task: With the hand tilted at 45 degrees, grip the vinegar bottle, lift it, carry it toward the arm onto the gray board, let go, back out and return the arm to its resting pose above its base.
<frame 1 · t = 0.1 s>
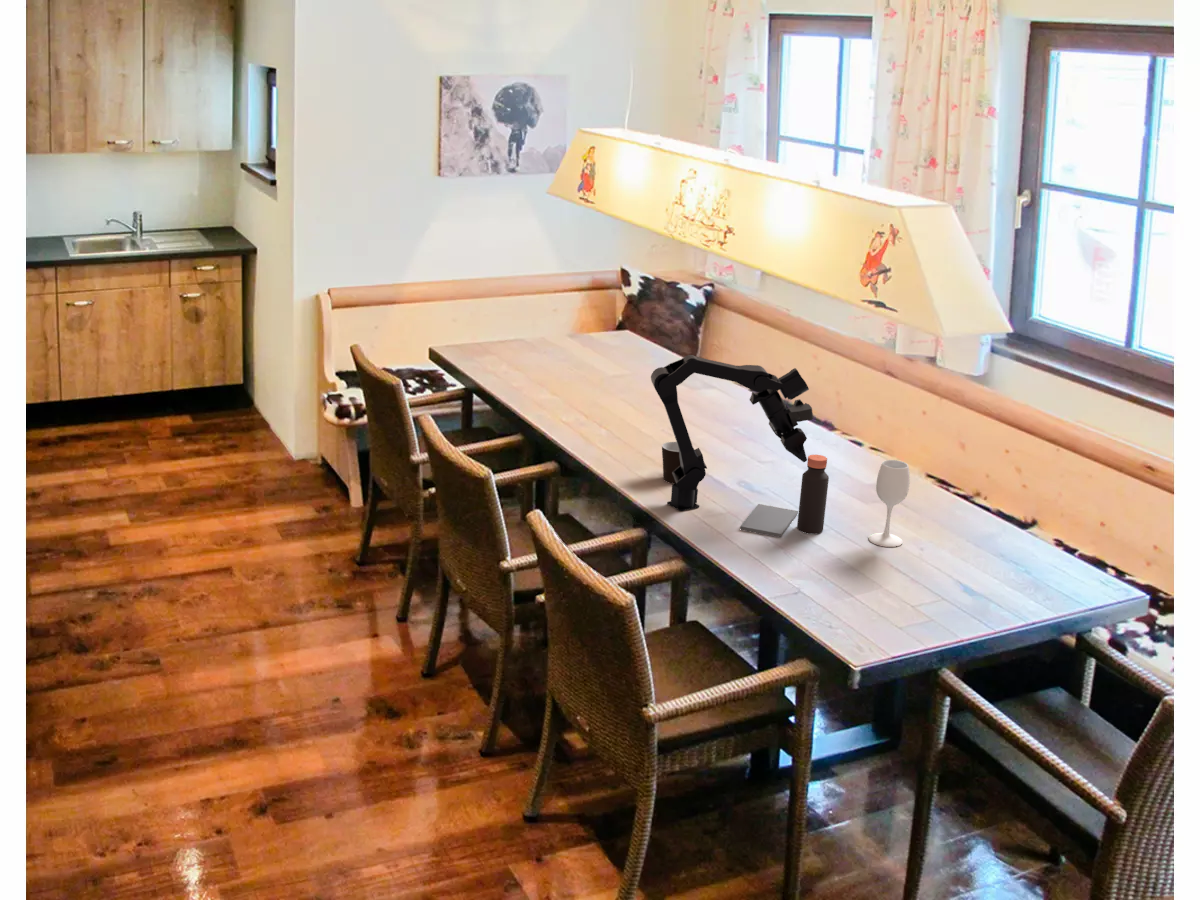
hand: (801, 455, 350), 15 cm above the table, tool tilted 35°, fingers open, 9 cm apart
wineglass: (885, 541, 335), on the table
vinegar: (809, 530, 340), on the table
coffee mug: (677, 479, 372), on the table
gray board: (769, 522, 343), on the table
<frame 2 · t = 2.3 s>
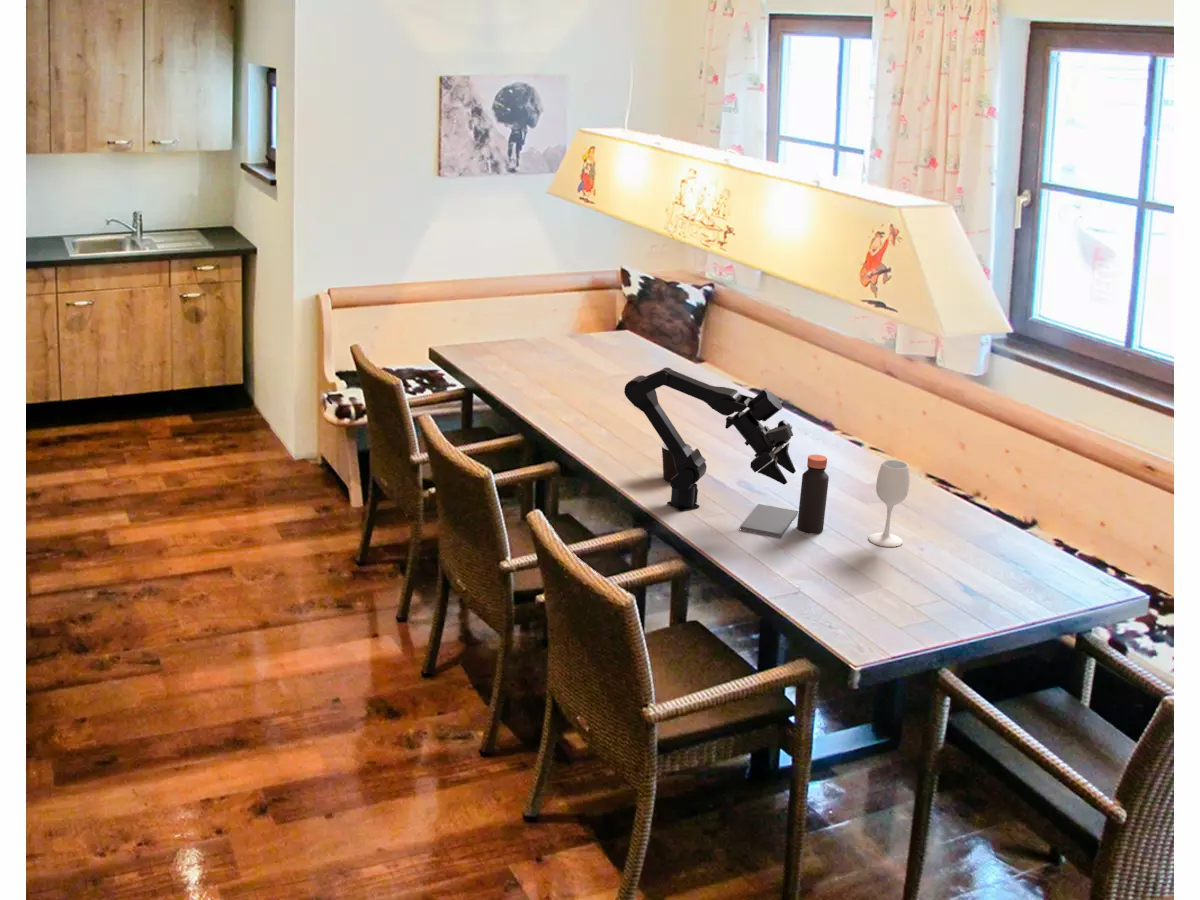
hand: (790, 477, 338), 13 cm above the table, tool tilted 45°, fingers open, 9 cm apart
nothing on the table moved.
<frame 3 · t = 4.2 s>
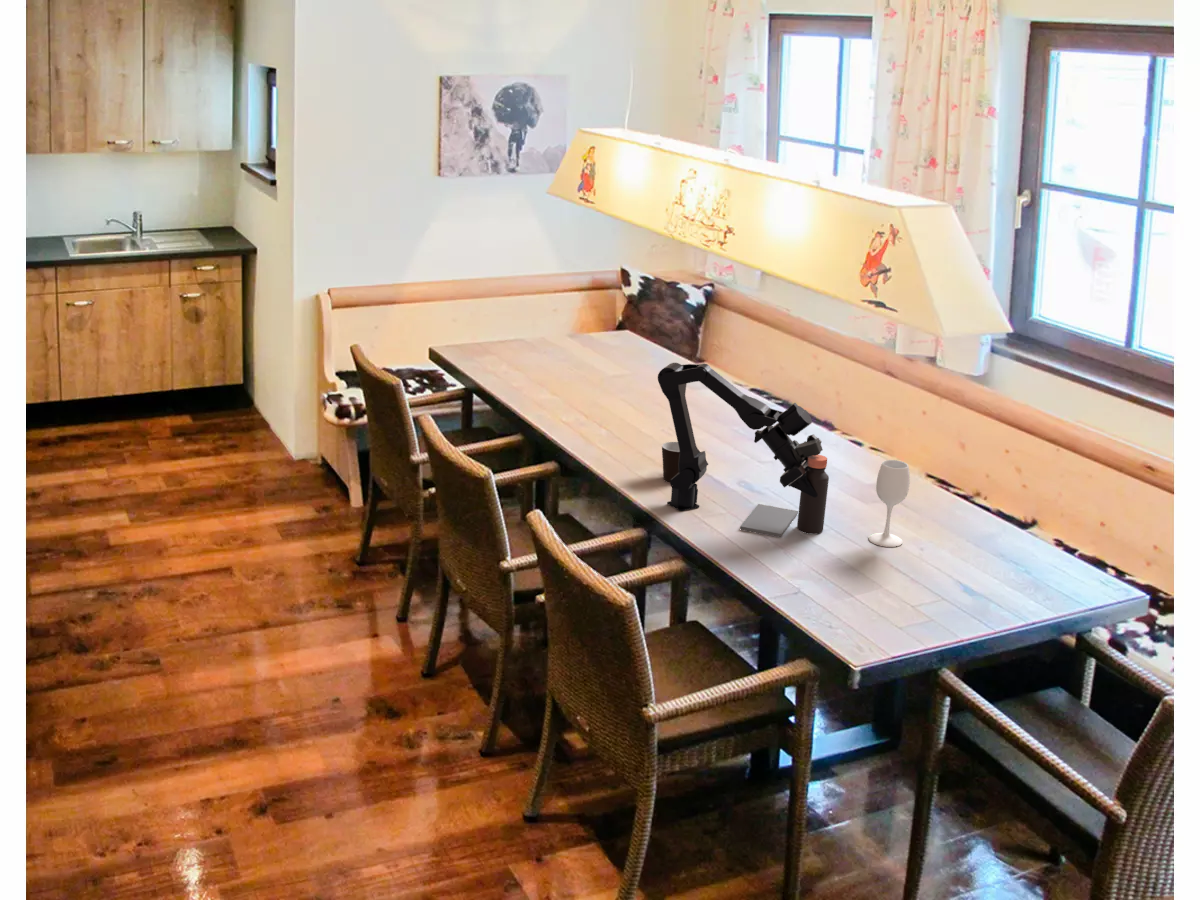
hand: (819, 492, 336), 11 cm above the table, tool tilted 45°, fingers closed on vinegar, 6 cm apart
vinegar: (809, 530, 340), on the table, touching gripper
everything else where it was.
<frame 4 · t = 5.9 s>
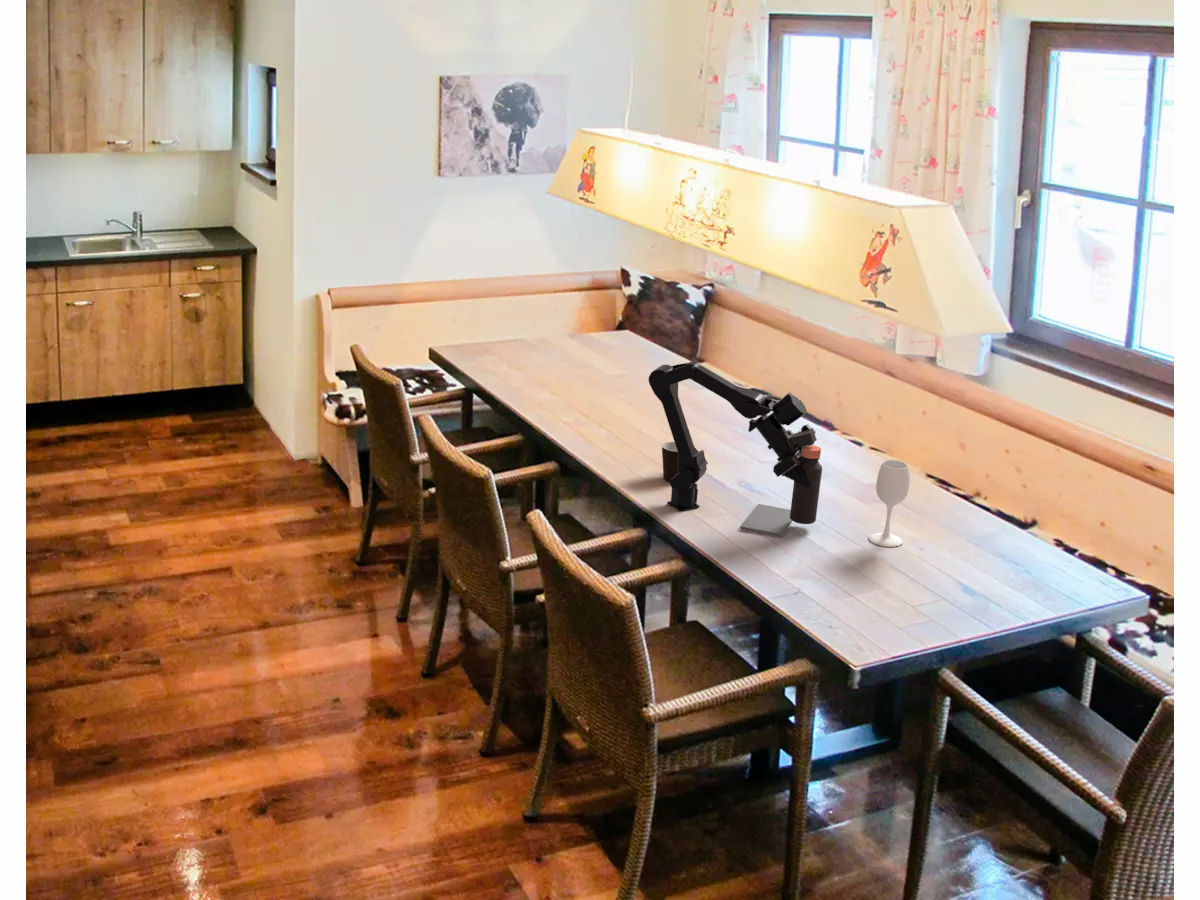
hand: (812, 482, 336), 13 cm above the table, tool tilted 45°, fingers closed on vinegar, 6 cm apart
vinegar: (802, 520, 340), point 2 cm above the table, touching gripper
everything else where it was.
when the fingers open (12 cm above the table, at t = 7.7 s): vinegar stays where it is, resting on gray board.
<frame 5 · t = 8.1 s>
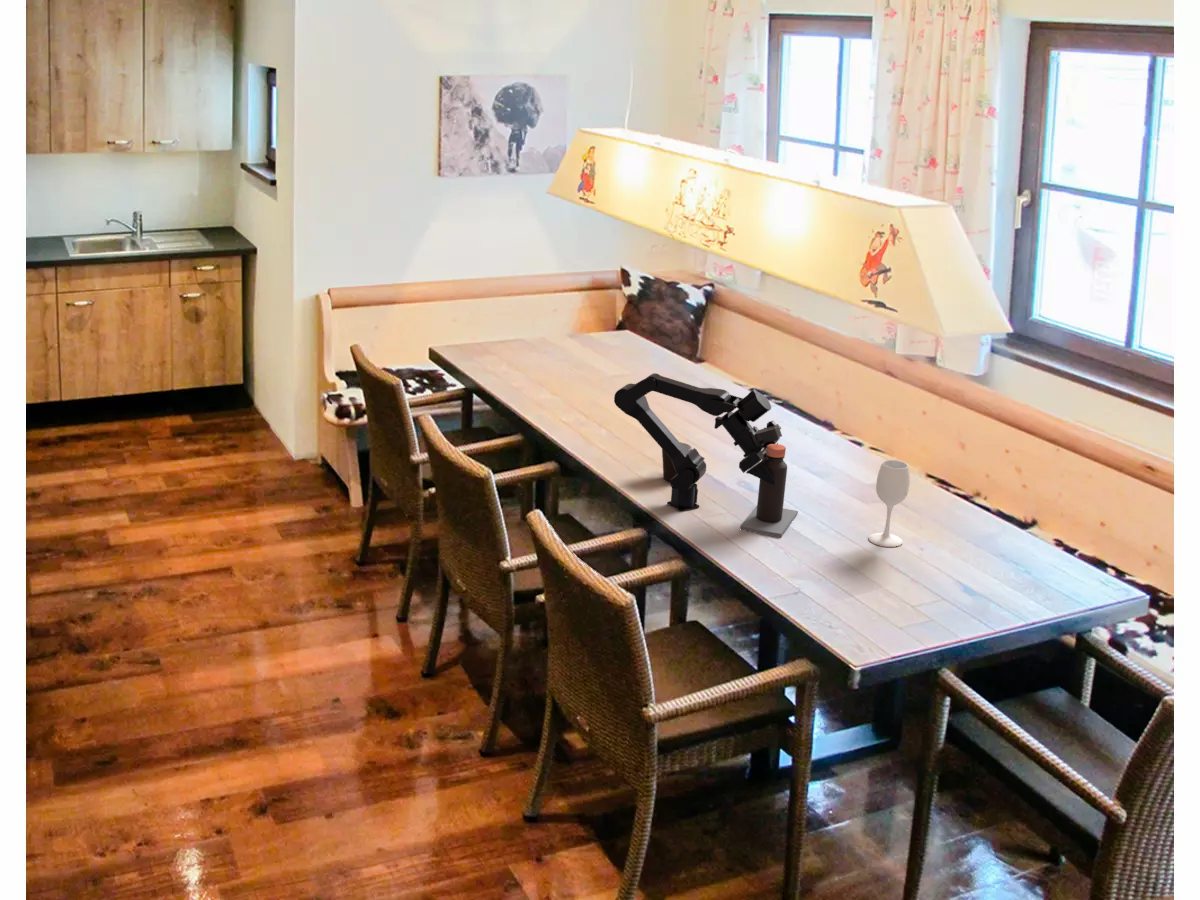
hand: (778, 478, 339), 13 cm above the table, tool tilted 45°, fingers open, 9 cm apart
vinegar: (768, 518, 343), point 1 cm above the table, touching gray board
everything else where it was.
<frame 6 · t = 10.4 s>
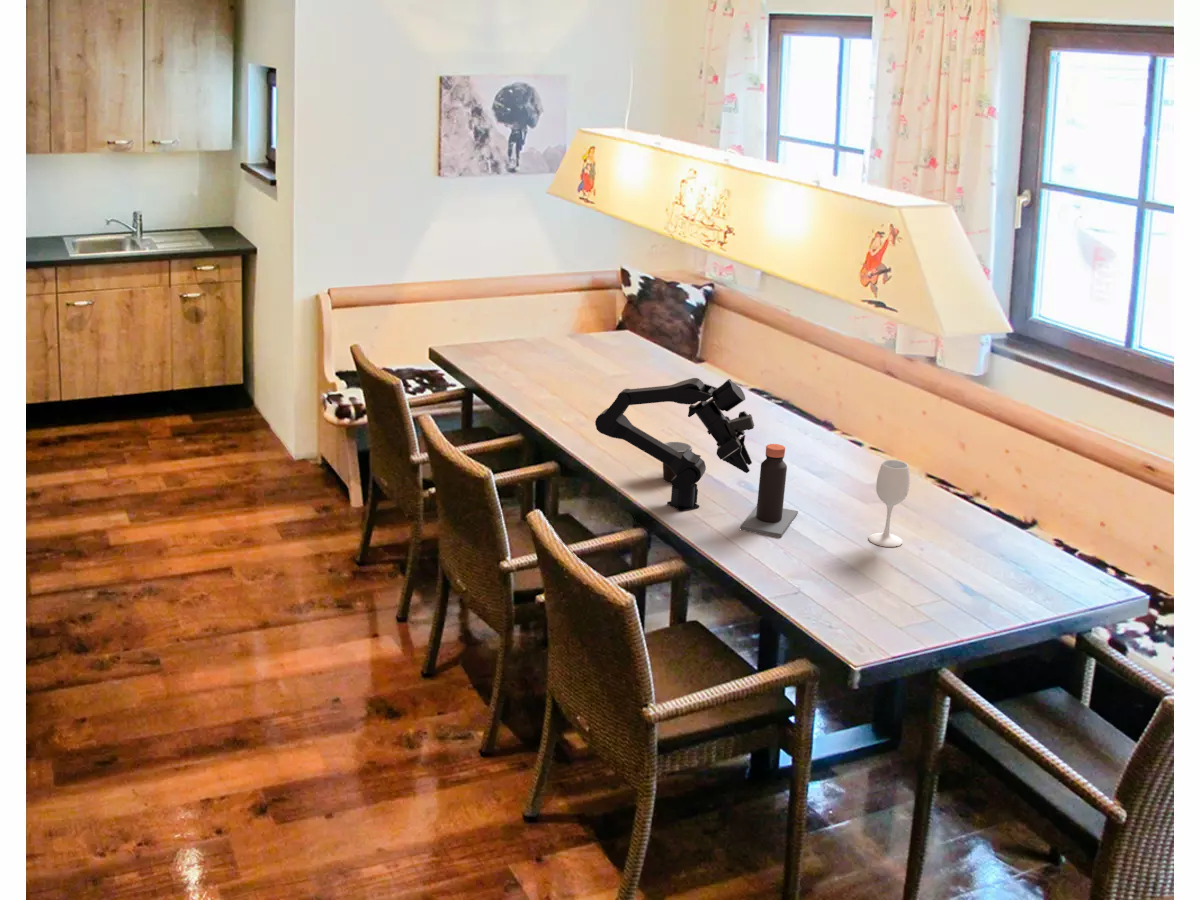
hand: (749, 468, 343), 14 cm above the table, tool tilted 40°, fingers open, 9 cm apart
nothing on the table moved.
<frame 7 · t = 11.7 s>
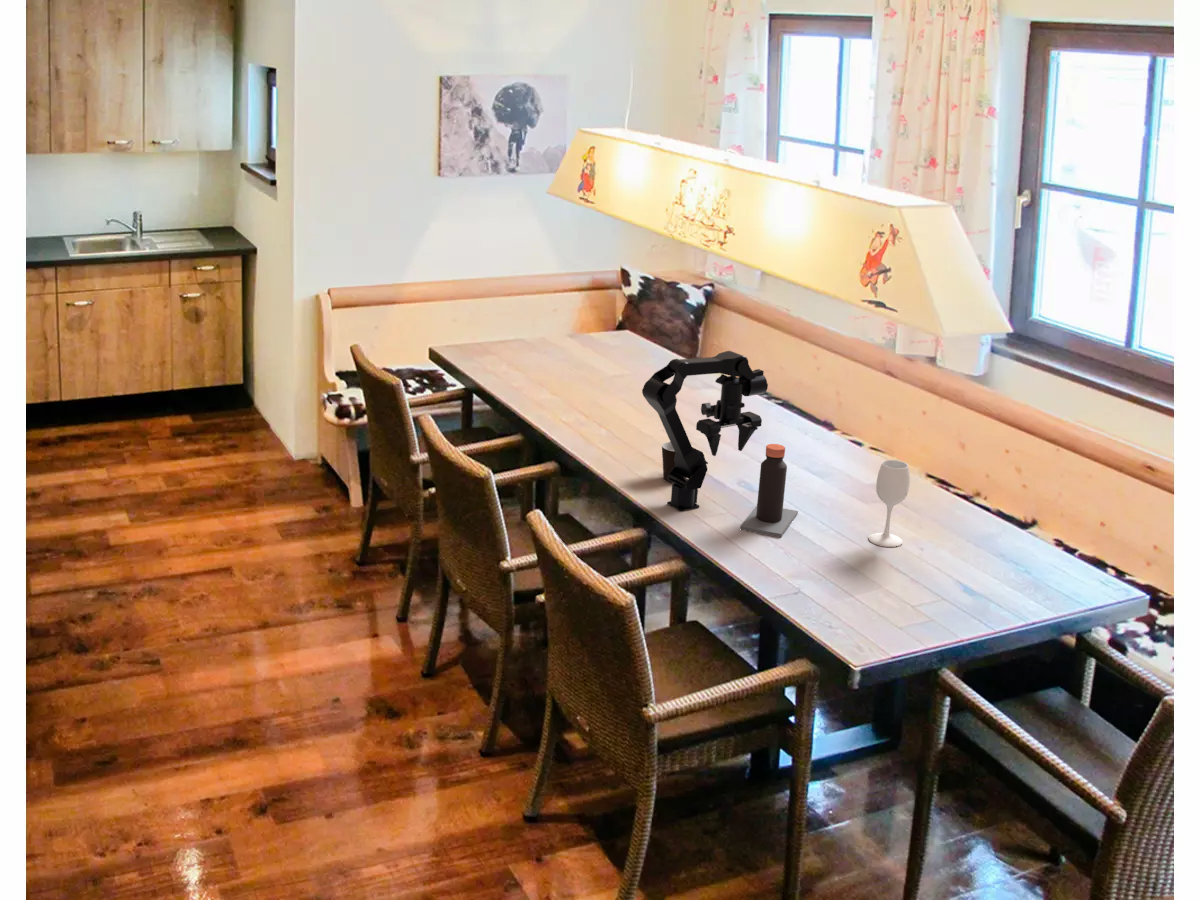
hand: (727, 453, 355), 13 cm above the table, tool pointing down, fingers open, 9 cm apart
nothing on the table moved.
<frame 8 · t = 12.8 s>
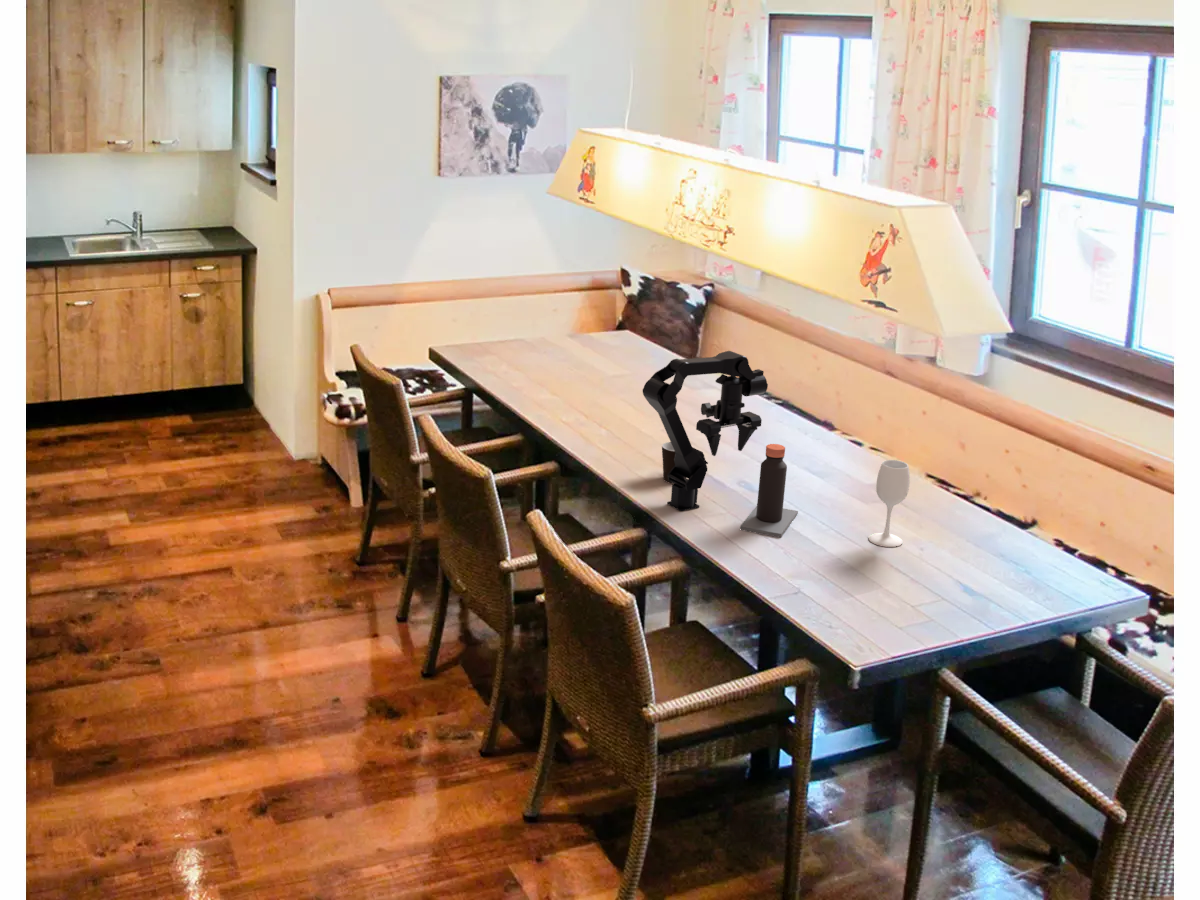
hand: (726, 453, 355), 13 cm above the table, tool pointing down, fingers open, 9 cm apart
nothing on the table moved.
at the end: vinegar inside the target area on the gray board (0.2 cm from its centre), point 0.8 cm above the gray board's base; vinegar tilted 0°; the gripper is holding nothing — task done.
